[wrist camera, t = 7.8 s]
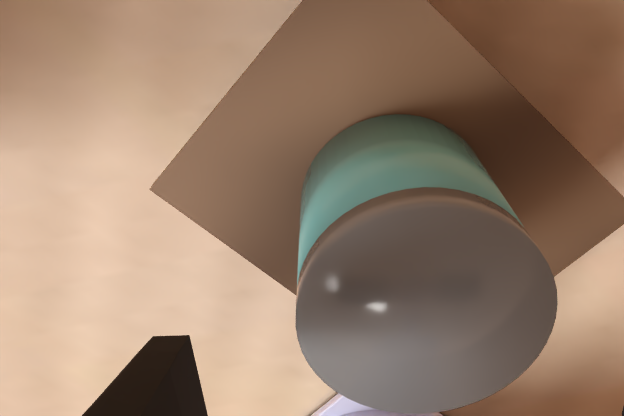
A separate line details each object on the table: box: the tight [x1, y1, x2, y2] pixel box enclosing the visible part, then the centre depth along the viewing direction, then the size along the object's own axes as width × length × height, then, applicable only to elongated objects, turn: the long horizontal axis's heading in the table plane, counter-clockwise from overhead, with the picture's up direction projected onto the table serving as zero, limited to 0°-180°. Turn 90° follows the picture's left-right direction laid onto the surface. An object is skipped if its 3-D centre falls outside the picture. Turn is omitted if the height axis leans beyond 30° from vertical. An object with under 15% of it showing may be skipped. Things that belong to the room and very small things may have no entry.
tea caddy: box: [296, 114, 557, 414], centre depth 13 cm, size 5×5×5 cm
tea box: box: [150, 0, 624, 295], centre depth 17 cm, size 10×8×4 cm
